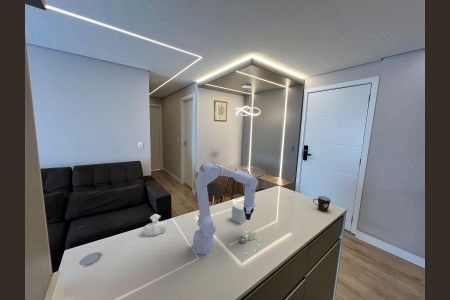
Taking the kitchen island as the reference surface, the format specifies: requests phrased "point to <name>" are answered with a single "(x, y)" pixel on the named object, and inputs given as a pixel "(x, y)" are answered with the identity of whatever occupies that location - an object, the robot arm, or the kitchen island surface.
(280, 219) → the kitchen island surface
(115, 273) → the kitchen island surface
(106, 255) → the kitchen island surface
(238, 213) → the small box
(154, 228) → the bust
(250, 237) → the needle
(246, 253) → the dial
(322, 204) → the coffee mug
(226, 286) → the kitchen island surface
